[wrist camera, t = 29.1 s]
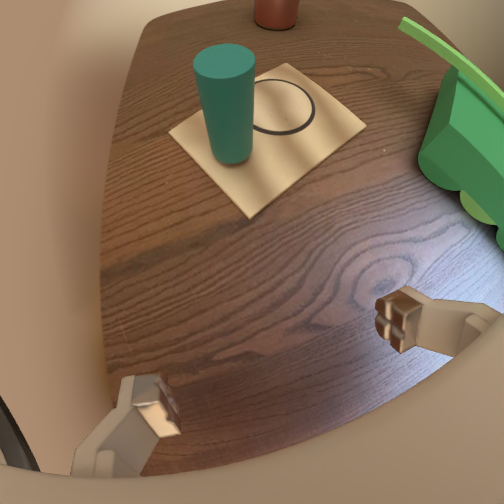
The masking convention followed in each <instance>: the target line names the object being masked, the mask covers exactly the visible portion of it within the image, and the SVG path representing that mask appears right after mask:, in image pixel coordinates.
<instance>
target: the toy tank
mask: <svg viewBox="0 0 504 504" xmlns="http://www.w3.org/2000/svg"><path fill="white" fill-rule="evenodd" d="M398 29H400V30H402V31H403V32H405V33H407V34H408V35H410V36H411V37H413V38H415V39H416V40H418V41H419V42H421V43H422V44H424V45H425V46H427V47H428V48H430V49H431V50H433V51H434V52H436V53H437V54H438V55H440V56H441V57H443V58H444V59H445V60H447V61H448V62H449V63H450V64H452V66H451V67H450V69H449V70H448V71H447V73H446V74H445V75H444V78H443V80H442V82H441V86H440V90H439V93H438V97H437V100H436V103H435V107H434V110H433V113H432V116H431V119H430V123H429V126H428V128H427V131H426V134H425V137H424V140H423V143H422V146H421V148H420V151H419V155H418V163H419V167H420V169H421V170H422V172H423V174H424V175H425V176H426V177H427V178H428V179H429V180H430V181H431V182H433V183H434V184H436V185H437V186H439V187H442V188H444V189H447V190H452V191H460V201H461V203H462V205H463V207H464V208H465V210H466V211H467V212H468V213H469V214H470V215H471V216H472V217H474V218H475V219H477V220H479V221H481V222H483V223H486V224H491V225H497V226H498V229H497V235H496V240H497V244H498V245H499V247H500V248H501V249H502V250H503V251H504V92H503V91H502V90H501V89H500V88H499V87H498V86H497V85H496V84H495V83H494V82H493V81H492V80H491V79H490V78H488V76H486V75H485V74H484V73H483V72H482V71H481V70H480V69H479V68H478V67H476V66H475V65H474V64H473V63H472V62H471V61H469V60H468V59H467V58H466V57H464V56H463V55H462V54H461V53H459V52H457V51H456V50H455V49H453V48H452V47H451V46H449V45H448V44H447V43H445V42H444V41H442V40H441V39H440V38H438V37H437V36H435V35H434V34H432V33H431V32H429V31H428V30H426V29H425V28H423V27H421V26H420V25H418V24H417V23H415V22H413V21H412V20H410V19H408V18H407V17H405V16H404V18H403V19H402V21H401V23H400V25H399V27H398Z"/></svg>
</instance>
